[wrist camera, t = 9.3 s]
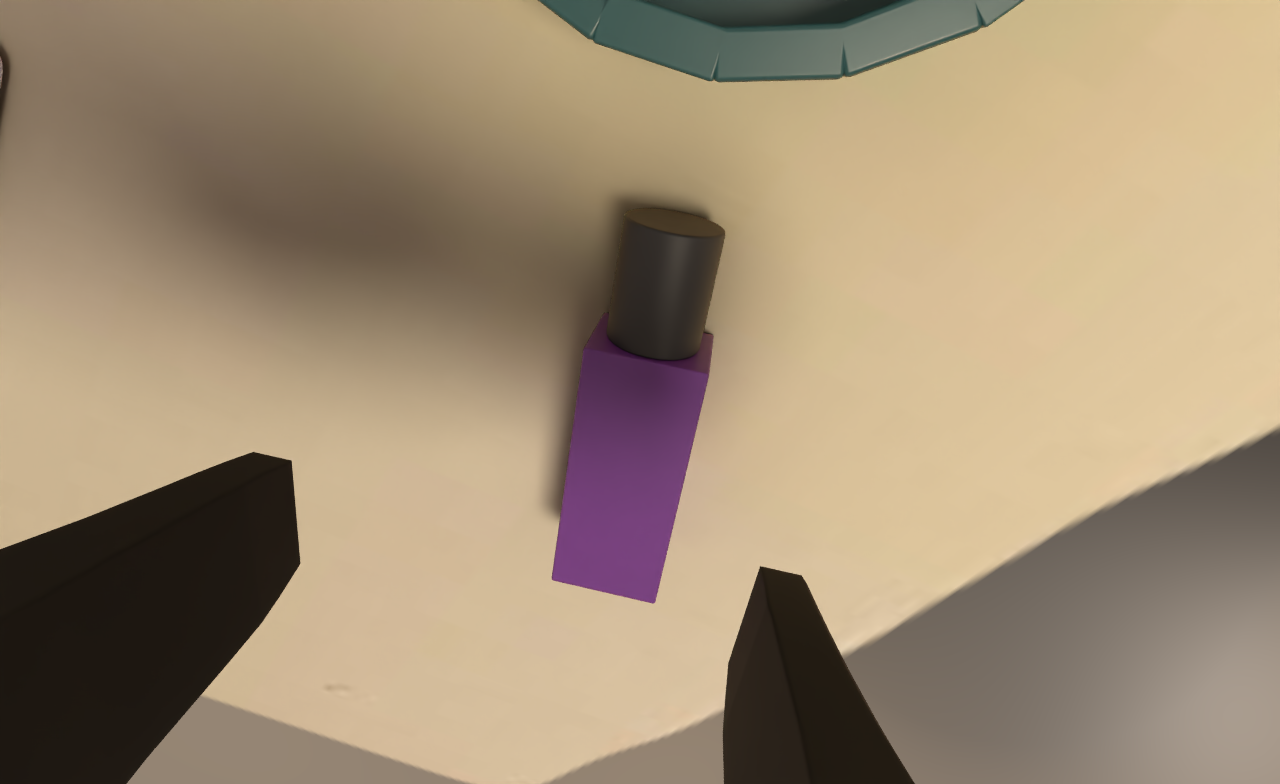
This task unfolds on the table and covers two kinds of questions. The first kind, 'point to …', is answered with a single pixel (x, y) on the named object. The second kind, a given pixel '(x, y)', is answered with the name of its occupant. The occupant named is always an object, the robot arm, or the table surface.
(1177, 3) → the table surface
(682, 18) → the tin
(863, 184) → the table surface
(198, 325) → the table surface
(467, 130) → the table surface
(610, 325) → the nail polish bottle
